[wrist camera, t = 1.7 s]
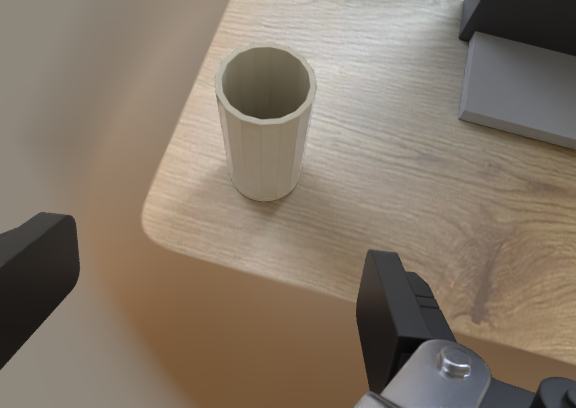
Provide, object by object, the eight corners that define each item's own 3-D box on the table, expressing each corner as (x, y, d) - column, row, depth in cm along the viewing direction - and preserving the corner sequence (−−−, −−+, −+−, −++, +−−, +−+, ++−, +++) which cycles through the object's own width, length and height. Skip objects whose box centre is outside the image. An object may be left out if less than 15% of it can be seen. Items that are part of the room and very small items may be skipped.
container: (219, 190, 30) (200, 108, 21) (242, 130, 33) (234, 32, 23) (289, 210, 30) (301, 136, 21) (308, 148, 32) (326, 56, 23)
